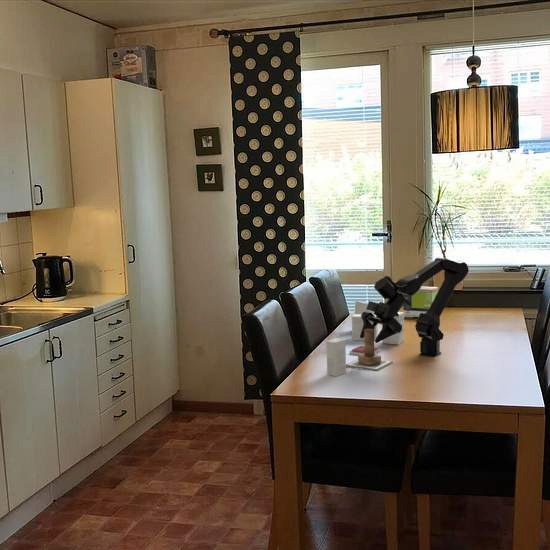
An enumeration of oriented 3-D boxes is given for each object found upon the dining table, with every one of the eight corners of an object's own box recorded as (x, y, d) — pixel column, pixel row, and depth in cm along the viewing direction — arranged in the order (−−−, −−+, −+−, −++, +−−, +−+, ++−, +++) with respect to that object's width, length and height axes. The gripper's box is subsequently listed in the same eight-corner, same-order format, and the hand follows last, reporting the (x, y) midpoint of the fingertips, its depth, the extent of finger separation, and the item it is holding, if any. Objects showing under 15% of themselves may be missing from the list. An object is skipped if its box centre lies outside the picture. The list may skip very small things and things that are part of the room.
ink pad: (380, 351, 272) (380, 347, 272) (370, 356, 265) (370, 352, 265) (360, 349, 277) (359, 345, 277) (349, 354, 270) (349, 349, 270)
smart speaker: (378, 332, 309) (378, 301, 308) (360, 334, 306) (360, 302, 304) (368, 328, 318) (367, 298, 316) (350, 330, 315) (349, 299, 313)
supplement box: (381, 343, 287) (381, 313, 285) (387, 340, 293) (387, 310, 292) (399, 345, 283) (399, 314, 282) (404, 341, 290) (404, 311, 288)
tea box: (439, 316, 343) (439, 286, 342) (432, 319, 335) (432, 289, 333) (410, 313, 351) (410, 285, 350) (402, 317, 343) (402, 287, 341)
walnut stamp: (371, 360, 257) (371, 327, 256) (381, 363, 252) (381, 330, 250) (358, 362, 254) (357, 329, 253) (367, 366, 249) (367, 332, 248)
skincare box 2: (378, 338, 297) (378, 314, 296) (376, 341, 291) (376, 316, 290) (354, 337, 300) (354, 313, 299) (351, 340, 294) (351, 316, 292)
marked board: (393, 362, 255) (393, 361, 255) (377, 371, 244) (377, 369, 244) (361, 358, 262) (361, 357, 262) (345, 366, 251) (345, 364, 251)
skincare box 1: (336, 370, 246) (335, 337, 244) (346, 372, 243) (345, 339, 242) (326, 374, 241) (325, 341, 240) (336, 376, 238) (336, 342, 237)
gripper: (364, 290, 260) (340, 322, 257) (395, 296, 244) (370, 330, 240) (381, 308, 265) (358, 340, 261) (413, 315, 249) (388, 350, 245)
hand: (368, 340), depth 252 cm, fingers open, 9 cm apart
